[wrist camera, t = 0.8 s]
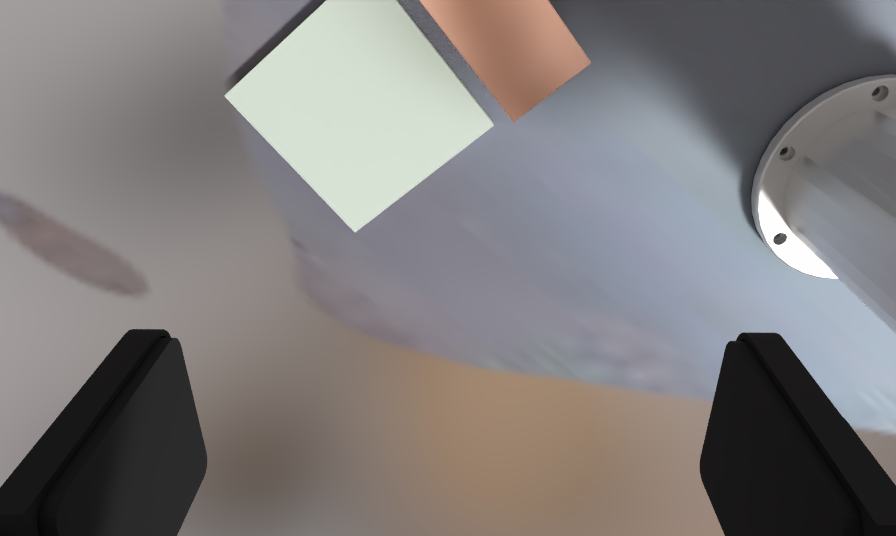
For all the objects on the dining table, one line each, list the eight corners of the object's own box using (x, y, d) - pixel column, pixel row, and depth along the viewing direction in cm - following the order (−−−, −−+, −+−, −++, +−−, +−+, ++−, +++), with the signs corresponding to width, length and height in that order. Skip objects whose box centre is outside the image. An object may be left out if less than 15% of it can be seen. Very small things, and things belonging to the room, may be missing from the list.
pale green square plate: (367, -38, 35) (366, -38, 34) (493, 122, 39) (494, 125, 38) (226, 93, 38) (224, 95, 38) (356, 229, 42) (355, 232, 42)
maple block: (481, -86, 34) (489, -86, 25) (559, 26, 36) (591, 62, 28) (421, -32, 35) (408, -14, 26) (500, 73, 38) (513, 122, 29)
